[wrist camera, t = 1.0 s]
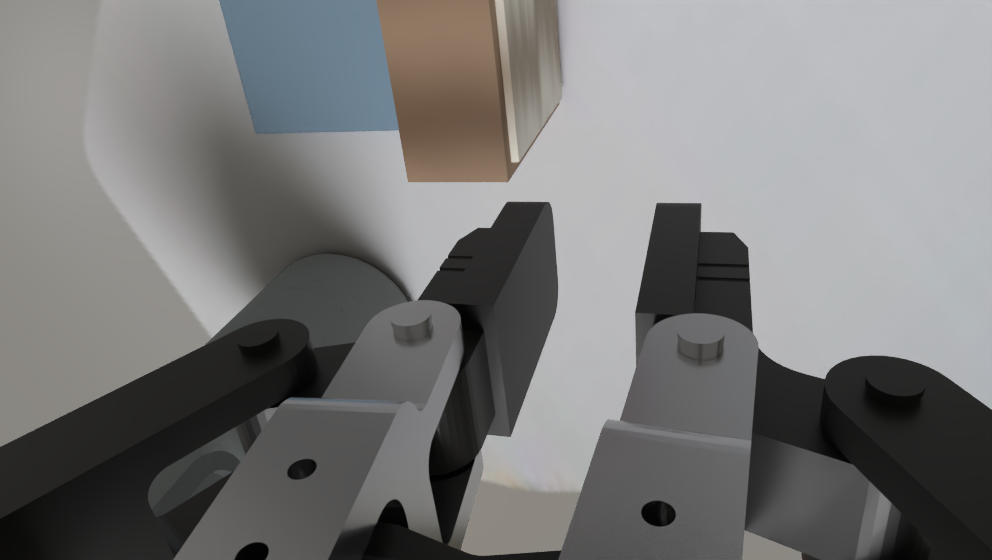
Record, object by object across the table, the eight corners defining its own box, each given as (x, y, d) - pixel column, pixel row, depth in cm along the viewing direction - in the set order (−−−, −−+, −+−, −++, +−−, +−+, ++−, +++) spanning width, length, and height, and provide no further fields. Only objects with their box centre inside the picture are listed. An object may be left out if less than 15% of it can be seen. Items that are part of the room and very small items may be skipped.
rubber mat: (206, -67, 36) (201, -66, 35) (434, -93, 32) (432, -92, 32) (259, 131, 41) (255, 133, 40) (464, 126, 37) (461, 129, 37)
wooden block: (459, -70, 33) (368, -43, 24) (554, -80, 31) (492, -55, 23) (480, 106, 36) (408, 182, 28) (565, 103, 35) (516, 182, 27)
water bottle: (369, 221, 42) (-81, 694, 18) (458, 353, 45) (167, 901, 21) (249, 280, 46) (-233, 716, 23) (337, 396, 49) (-10, 884, 26)
